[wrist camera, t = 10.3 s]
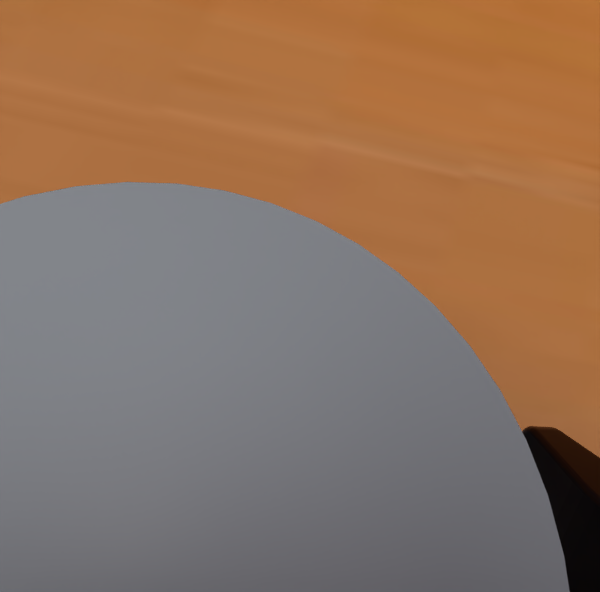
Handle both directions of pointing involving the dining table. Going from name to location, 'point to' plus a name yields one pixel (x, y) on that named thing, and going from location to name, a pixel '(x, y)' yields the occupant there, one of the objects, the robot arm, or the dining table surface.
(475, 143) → the dining table surface
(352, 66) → the dining table surface
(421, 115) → the dining table surface
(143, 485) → the peg
